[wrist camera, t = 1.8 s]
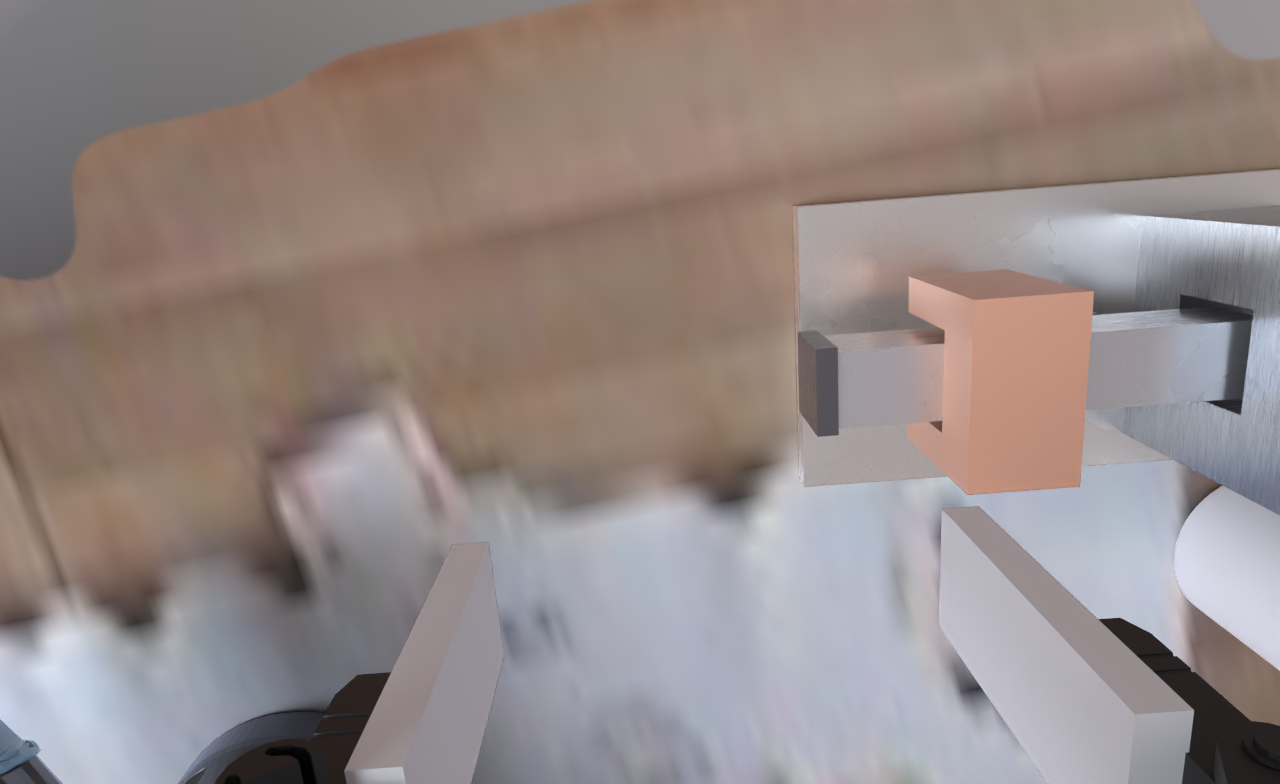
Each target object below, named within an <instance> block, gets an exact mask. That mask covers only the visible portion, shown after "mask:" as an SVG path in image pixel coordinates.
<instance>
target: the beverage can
mask: <svg viewBox="0 0 1280 784" xmlns="http://www.w3.org/2000/svg"><path fill="white" fill-rule="evenodd" d="M1174 569H1175V574H1176V578H1177V581H1178V584H1179V586H1180V588H1181V590H1182V592H1183V593H1184V595H1185V596H1186V597H1187V599H1188V600H1189V601H1190V602H1191V603H1192V604H1193V605H1194V606H1196V607H1197V608H1198V609H1199V610H1201V611H1202V612H1203V613H1205V614H1206V615H1207V616H1209V617H1210V618H1211V619H1212V620H1214V621H1215V622H1216V623H1218V624H1219V625H1220V626H1222V627H1223V628H1224V629H1226V630H1227V631H1228V632H1230V633H1231V634H1232V635H1233V636H1235V637H1236V638H1237V639H1239V640H1240V641H1241V642H1243V643H1244V644H1245V645H1247V646H1248V647H1249V648H1251V649H1252V650H1253V651H1255V652H1256V653H1257V654H1258V655H1260V656H1261V657H1262V658H1264V659H1265V660H1266V661H1268V662H1269V663H1270V664H1272V665H1273V666H1274V667H1276V668H1277V669H1278V670H1279V671H1280V515H1278V514H1276V513H1274V512H1272V511H1270V510H1269V509H1267V508H1265V507H1263V506H1261V505H1259V504H1257V503H1255V502H1253V501H1251V500H1249V499H1248V498H1246V497H1244V496H1242V495H1240V494H1238V493H1236V492H1234V491H1232V490H1230V489H1228V488H1227V487H1225V486H1223V485H1222V486H1221V487H1219V488H1217V489H1216V490H1215V491H1213V492H1212V493H1210V494H1209V495H1208V496H1207V497H1206V498H1204V499H1203V500H1202V501H1201V502H1200V503H1199V504H1198V505H1197V506H1196V507H1195V509H1194V510H1193V511H1192V512H1191V514H1190V515H1189V516H1188V518H1187V520H1186V521H1185V523H1184V525H1183V527H1182V529H1181V531H1180V533H1179V536H1178V539H1177V542H1176V546H1175V552H1174Z"/></svg>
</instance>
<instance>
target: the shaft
mask: <svg viewBox="0 0 1280 784" xmlns="http://www.w3.org/2000/svg"><path fill="white" fill-rule="evenodd" d="M1252 321H1253V315H1249V314H1245V313H1240V312H1236V311H1231V310H1227V309H1222V308H1218V307H1214V306H1208V307H1195V308H1182V309H1169V310H1156V311H1142V312H1129V313H1116V314H1103V315H1092V328H1091V342H1090V355H1089V369H1088V382H1087V396H1086V409H1085V410H1093V409H1106V408H1119V407H1133V406H1146V405H1160V404H1173V403H1186V402H1200V401H1213V400H1226V399H1240V398H1243V392H1244V385H1245V377H1246V369H1247V361H1248V353H1249V345H1250V337H1251V329H1252ZM797 335H798V377H799V412H800V413H801V414H802V416H803V417H804V419H805V420H806V421H807V423H808V424H809V425H810V427H811V428H812V430H813V431H814V432H815V434H816V435H817V437H822V436H836V435H839V428H852V427H866V426H879V425H892V424H906V423H919V422H933V421H942V420H943V380H944V340H945V330H943V329H941V328H939V327H931V328H918V329H905V330H891V331H878V332H865V333H852V334H839V335H825V336H823V335H822V334H821V333H820V332H818V331H817V330H814V331H801V332H797Z"/></svg>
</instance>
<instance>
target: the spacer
mask: <svg viewBox="0 0 1280 784" xmlns="http://www.w3.org/2000/svg"><path fill="white" fill-rule="evenodd" d="M1093 301H1094V291H1092V290H1088V289H1084V288H1080V287H1076V286H1072V285H1068V284H1064V283H1060V282H1056V281H1052V280H1048V279H1044V278H1040V277H1036V276H1032V275H1028V274H1024V273H1020V272H1016V271H1012V270H1008V269H999V270H986V271H973V272H960V273H947V274H934V275H921V276H909V301H908V312H909V313H911V314H913V315H915V316H917V317H919V318H921V319H923V320H925V321H927V322H929V323H931V324H933V325H935V326H937V327H939V328H941V329H943V330H945V340H944V380H943V420H942V421H933V422H919V423H907V438H908V439H909V440H910V441H911V442H912V443H913V444H914V445H915V446H916V447H917V448H918V449H919V450H921V451H922V452H923V453H924V454H925V455H926V456H927V457H928V458H929V459H930V460H931V461H932V462H933V463H934V464H935V465H936V466H937V467H939V468H940V469H941V470H942V471H943V472H944V473H945V474H946V475H947V476H948V477H949V478H950V479H951V480H952V481H953V482H954V483H955V484H957V485H958V486H959V487H960V488H961V489H962V490H963V491H964V492H965V493H966V494H967V495H973V494H987V493H1000V492H1014V491H1027V490H1041V489H1054V488H1067V487H1080V477H1081V464H1082V450H1083V437H1084V423H1085V409H1086V396H1087V382H1088V369H1089V355H1090V342H1091V328H1092V315H1093Z"/></svg>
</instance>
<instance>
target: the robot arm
mask: <svg viewBox="0 0 1280 784" xmlns="http://www.w3.org/2000/svg"><path fill="white" fill-rule="evenodd" d="M939 627H940V628H941V630H942V631H943V633H944V634H945V635H946V637H947V638H948V640H949V641H950V643H951V644H952V646H953V647H954V649H955V650H956V651H957V653H958V654H959V656H960V657H961V659H962V660H963V662H964V663H965V664H966V666H967V667H968V669H969V670H970V672H971V673H972V675H973V676H974V678H975V679H976V680H977V682H978V683H979V685H980V686H981V688H982V689H983V691H984V692H985V694H986V695H987V696H988V698H989V699H990V701H991V702H992V704H993V705H994V707H995V708H996V710H997V711H998V712H999V714H1000V715H1001V717H1002V718H1003V720H1004V721H1005V723H1006V724H1007V726H1008V727H1009V728H1010V730H1011V731H1012V733H1013V734H1014V736H1015V737H1016V739H1017V740H1018V742H1019V743H1020V744H1021V746H1022V747H1023V749H1024V750H1025V752H1026V753H1027V755H1028V756H1029V758H1030V759H1031V760H1032V762H1033V763H1034V765H1035V766H1036V768H1037V769H1038V771H1039V772H1040V774H1041V775H1042V776H1043V778H1044V779H1045V781H1046V782H1047V784H1280V726H1277V725H1273V724H1270V723H1263V722H1254V721H1250V720H1249V719H1248V718H1247V717H1245V716H1244V715H1243V714H1242V713H1241V712H1240V711H1239V710H1237V709H1236V708H1235V707H1234V706H1233V705H1232V704H1231V703H1229V702H1228V701H1227V700H1226V699H1225V698H1224V697H1223V696H1222V695H1220V694H1219V693H1218V692H1217V691H1216V690H1215V689H1214V688H1212V687H1211V686H1210V685H1209V684H1208V683H1207V682H1206V681H1204V680H1203V679H1202V678H1201V677H1200V676H1199V675H1198V674H1196V673H1195V672H1191V668H1190V667H1188V666H1187V665H1186V664H1185V663H1184V662H1183V661H1182V660H1181V659H1179V658H1178V657H1177V656H1175V657H1174V656H1173V652H1171V651H1170V650H1169V649H1168V648H1167V647H1166V646H1165V645H1163V644H1162V643H1161V642H1160V641H1159V640H1158V639H1157V638H1155V637H1154V636H1153V635H1152V634H1151V633H1149V632H1147V631H1145V630H1143V629H1141V628H1139V627H1137V626H1135V625H1133V624H1131V623H1129V622H1127V621H1125V620H1123V619H1121V618H1111V619H1097V618H1096V617H1095V616H1094V615H1093V614H1092V613H1091V612H1090V611H1089V610H1088V609H1087V608H1086V607H1085V606H1083V605H1082V604H1081V603H1080V602H1079V601H1078V600H1077V599H1076V598H1075V597H1074V596H1073V595H1072V594H1071V593H1070V592H1069V591H1068V590H1067V589H1066V588H1064V587H1063V586H1062V585H1061V584H1060V583H1059V582H1058V581H1057V580H1056V579H1055V578H1054V577H1053V576H1052V575H1051V574H1050V573H1049V572H1048V571H1046V570H1045V569H1044V568H1043V567H1042V566H1041V565H1040V564H1039V563H1038V562H1037V561H1036V560H1035V559H1034V558H1033V557H1032V556H1031V555H1030V554H1029V553H1027V552H1026V551H1025V550H1024V549H1023V548H1022V547H1021V546H1020V545H1019V544H1018V543H1017V542H1016V541H1015V540H1014V539H1013V538H1012V537H1011V536H1010V535H1008V534H1007V533H1006V532H1005V531H1004V530H1003V529H1002V528H1001V527H1000V526H999V525H998V524H997V523H996V522H995V521H994V520H993V519H992V518H991V517H989V516H988V515H987V514H986V513H985V512H984V511H983V510H982V509H981V508H980V507H979V506H975V507H961V508H947V509H942V527H941V563H940V600H939ZM503 659H504V653H503V645H502V638H501V630H500V623H499V615H498V608H497V600H496V593H495V585H494V578H493V570H492V563H491V555H490V548H489V542H481V543H467V544H454V545H452V546H451V549H450V551H449V553H448V555H447V557H446V559H445V561H444V563H443V565H442V567H441V569H440V572H439V574H438V576H437V578H436V580H435V582H434V584H433V586H432V588H431V590H430V593H429V595H428V597H427V599H426V601H425V603H424V605H423V607H422V609H421V611H420V613H419V616H418V618H417V620H416V622H415V624H414V626H413V628H412V630H411V632H410V634H409V636H408V639H407V641H406V643H405V645H404V647H403V649H402V651H401V653H400V655H399V657H398V659H397V662H396V664H395V666H394V668H393V670H392V672H390V673H376V674H362V675H357V676H356V677H355V678H354V679H353V680H352V681H350V682H349V683H348V684H347V685H346V686H345V687H343V688H342V689H341V690H340V691H339V692H338V693H337V694H336V695H335V696H334V698H333V700H332V702H331V703H330V705H329V707H328V709H327V710H326V712H325V713H316V712H289V713H280V714H274V715H269V716H265V717H261V718H258V719H254V720H251V721H249V722H246V723H244V724H241V725H239V726H237V727H235V728H233V729H231V730H229V731H228V732H226V733H224V734H223V735H221V736H220V737H218V738H217V739H216V740H214V741H213V742H212V743H211V744H210V745H209V746H207V747H206V748H205V749H204V750H203V751H202V753H201V754H200V755H199V756H198V757H197V758H196V760H195V761H194V762H193V764H192V765H191V767H190V768H189V769H188V771H187V772H186V773H185V775H184V776H183V777H182V779H181V780H180V781H179V783H178V784H471V783H472V779H473V775H474V771H475V767H476V763H477V760H478V756H479V752H480V748H481V744H482V740H483V736H484V733H485V729H486V725H487V721H488V717H489V713H490V709H491V706H492V702H493V698H494V694H495V690H496V686H497V682H498V679H499V675H500V671H501V667H502V663H503ZM39 752H40V749H39V747H38V745H37V744H36V743H35V742H34V741H30V740H22V739H21V738H20V737H19V736H18V735H16V734H15V733H14V732H13V731H12V730H11V729H10V728H9V727H8V726H7V725H6V724H5V723H4V722H3V721H2V720H0V784H62V783H61V781H60V780H59V779H58V778H57V777H56V776H55V775H54V774H53V773H52V772H51V771H50V769H49V768H48V767H47V766H46V765H45V764H44V763H43V762H42V761H41V760H40V759H39V757H38V756H37V755H36V754H37V753H39Z"/></svg>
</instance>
